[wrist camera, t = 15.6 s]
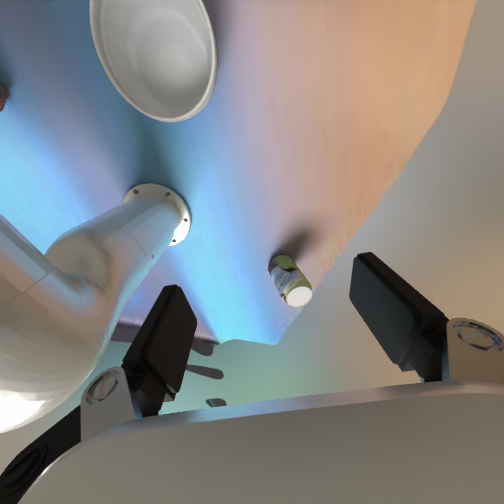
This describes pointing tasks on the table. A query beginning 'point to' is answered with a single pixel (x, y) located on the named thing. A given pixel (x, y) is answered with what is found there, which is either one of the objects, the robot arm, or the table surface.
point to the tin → (3, 96)
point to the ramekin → (157, 54)
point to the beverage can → (290, 281)
